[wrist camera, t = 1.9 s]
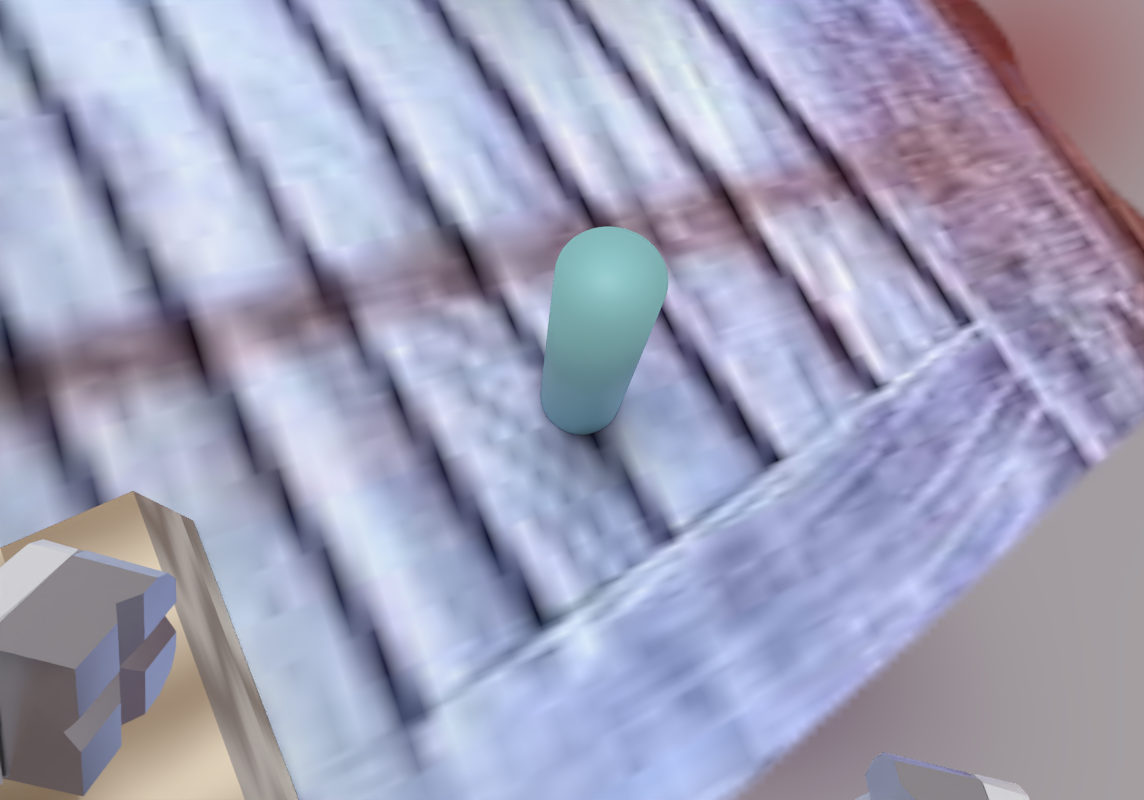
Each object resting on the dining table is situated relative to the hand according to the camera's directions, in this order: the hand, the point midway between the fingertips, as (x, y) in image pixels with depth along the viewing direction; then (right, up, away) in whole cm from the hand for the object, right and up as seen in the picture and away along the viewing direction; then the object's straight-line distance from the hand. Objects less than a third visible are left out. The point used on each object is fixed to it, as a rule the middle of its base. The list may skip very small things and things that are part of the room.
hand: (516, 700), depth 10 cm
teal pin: (+1, +4, +29) cm, 29 cm away
